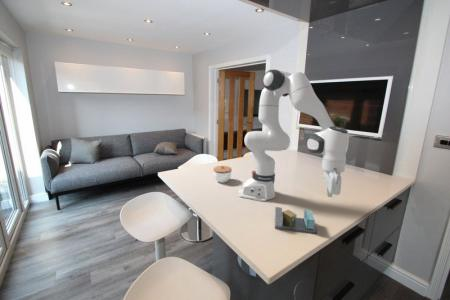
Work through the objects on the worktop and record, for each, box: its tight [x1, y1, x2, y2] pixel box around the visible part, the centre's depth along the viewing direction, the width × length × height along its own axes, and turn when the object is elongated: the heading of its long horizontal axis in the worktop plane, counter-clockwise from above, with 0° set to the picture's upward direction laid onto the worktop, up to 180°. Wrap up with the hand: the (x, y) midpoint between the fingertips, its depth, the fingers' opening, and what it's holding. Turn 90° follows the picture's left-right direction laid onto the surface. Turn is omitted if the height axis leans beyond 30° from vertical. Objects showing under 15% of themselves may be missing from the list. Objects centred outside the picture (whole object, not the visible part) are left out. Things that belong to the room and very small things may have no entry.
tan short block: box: [282, 209, 298, 226], centre depth 101 cm, size 5×4×4 cm
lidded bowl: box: [213, 165, 233, 184], centre depth 152 cm, size 13×13×11 cm
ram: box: [303, 209, 316, 229], centre depth 100 cm, size 3×8×4 cm, turn 169°
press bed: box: [274, 206, 318, 235], centre depth 101 cm, size 18×9×6 cm, turn 79°
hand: (329, 195), depth 95 cm, fingers closed
